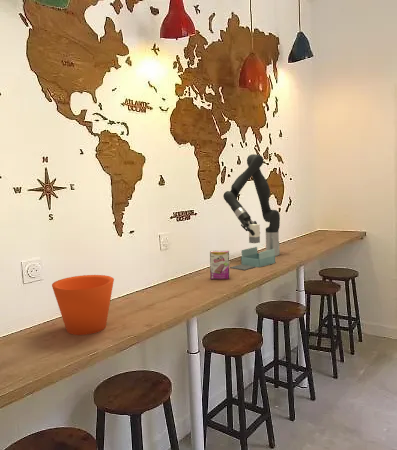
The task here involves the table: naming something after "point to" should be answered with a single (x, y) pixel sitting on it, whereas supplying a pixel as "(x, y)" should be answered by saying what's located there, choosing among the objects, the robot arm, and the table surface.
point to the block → (257, 233)
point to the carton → (257, 257)
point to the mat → (243, 267)
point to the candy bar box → (219, 264)
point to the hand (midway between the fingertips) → (256, 234)
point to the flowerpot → (84, 302)
